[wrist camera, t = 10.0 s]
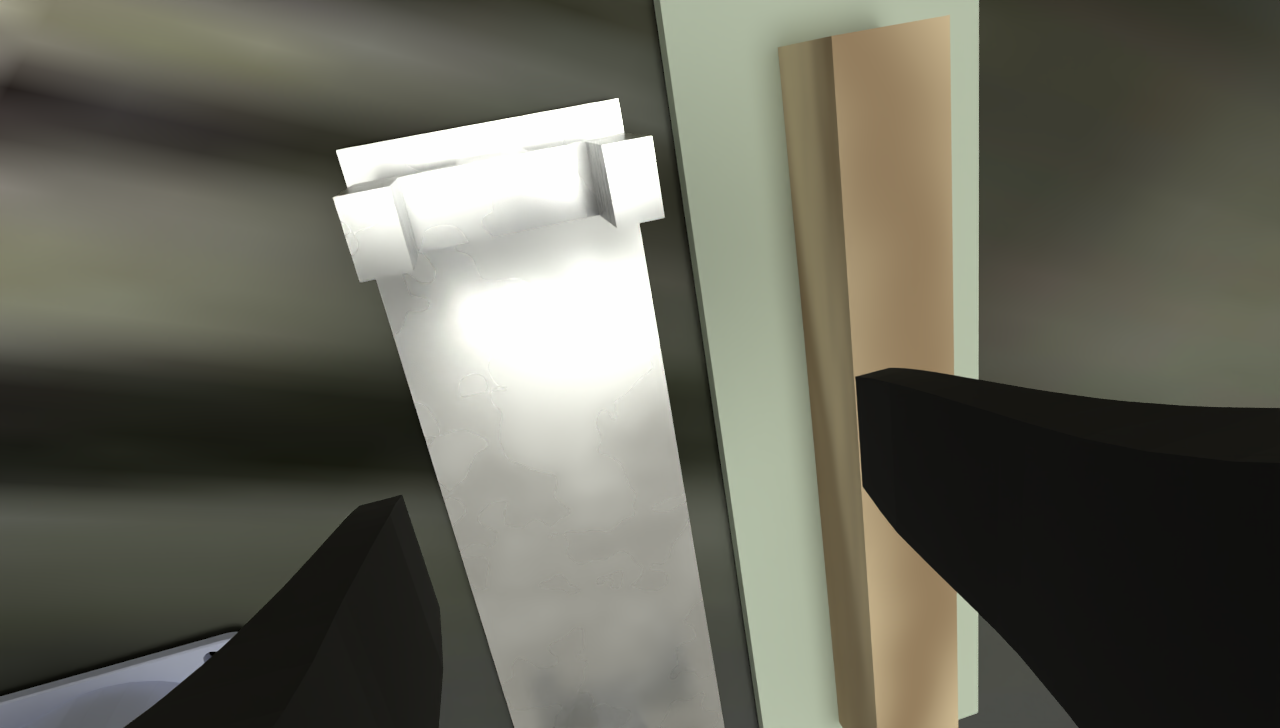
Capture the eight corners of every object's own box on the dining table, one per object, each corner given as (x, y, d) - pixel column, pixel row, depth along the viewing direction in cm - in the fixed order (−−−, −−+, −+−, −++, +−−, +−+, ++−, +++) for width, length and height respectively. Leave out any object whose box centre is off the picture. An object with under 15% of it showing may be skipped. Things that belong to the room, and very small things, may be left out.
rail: (839, 722, 28) (881, 789, 25) (777, 47, 19) (831, 35, 16) (909, 697, 28) (958, 761, 25) (880, 29, 20) (949, 15, 17)
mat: (765, 772, 28) (771, 785, 28) (650, -15, 18) (657, -18, 18) (968, 701, 30) (978, 712, 29) (964, -65, 20) (978, -70, 19)
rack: (540, 798, 26) (560, 973, 21) (340, 148, 18) (290, 163, 13) (721, 737, 27) (785, 888, 22) (612, 99, 19) (671, 92, 14)
